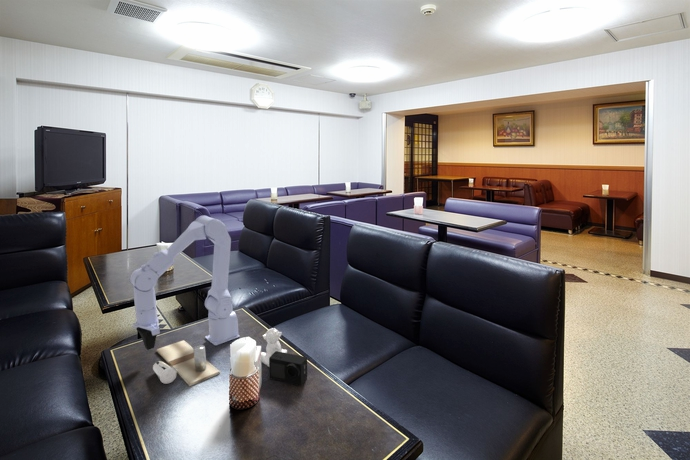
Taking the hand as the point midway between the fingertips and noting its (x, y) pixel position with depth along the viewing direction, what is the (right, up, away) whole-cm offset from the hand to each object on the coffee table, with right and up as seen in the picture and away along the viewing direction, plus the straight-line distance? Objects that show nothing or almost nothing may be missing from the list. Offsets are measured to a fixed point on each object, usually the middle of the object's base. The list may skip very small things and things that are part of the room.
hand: (150, 348), depth 118 cm
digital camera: (+44, -7, -7) cm, 45 cm away
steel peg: (+17, -5, -4) cm, 19 cm away
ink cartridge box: (+35, -8, -13) cm, 38 cm away
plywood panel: (+11, -5, +1) cm, 12 cm away
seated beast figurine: (+39, -5, +2) cm, 39 cm away
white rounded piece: (+5, -4, -4) cm, 7 cm away
